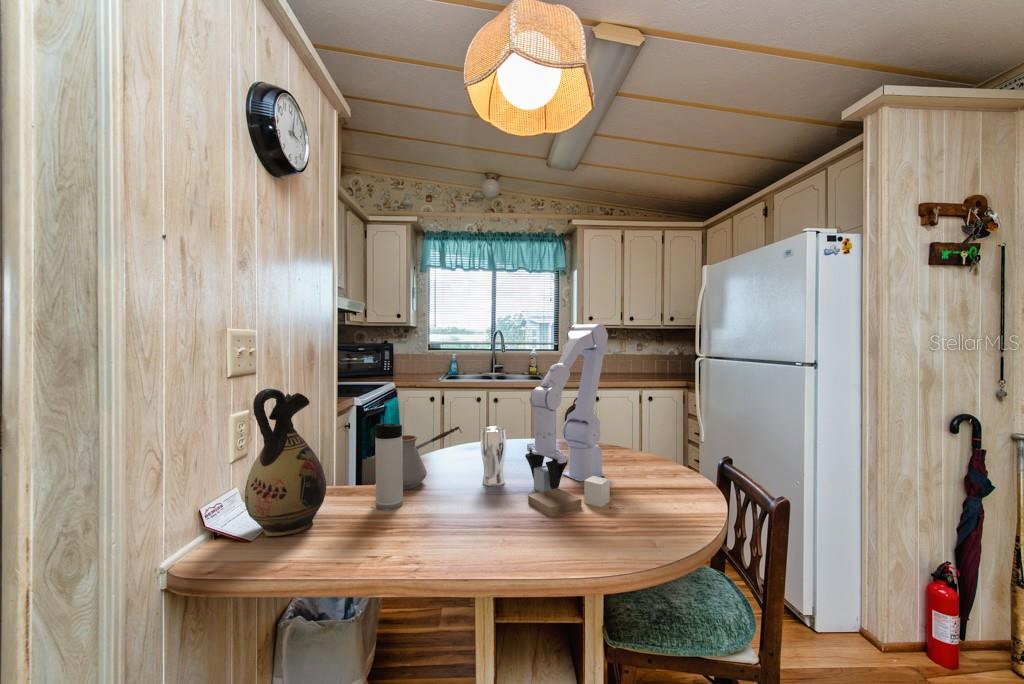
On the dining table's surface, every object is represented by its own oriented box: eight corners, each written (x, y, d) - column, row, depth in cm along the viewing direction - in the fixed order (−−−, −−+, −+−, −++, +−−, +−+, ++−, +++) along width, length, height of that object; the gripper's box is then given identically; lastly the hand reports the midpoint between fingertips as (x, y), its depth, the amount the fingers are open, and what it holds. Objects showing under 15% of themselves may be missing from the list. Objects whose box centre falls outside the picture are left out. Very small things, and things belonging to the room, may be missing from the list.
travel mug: (369, 508, 102) (368, 423, 102) (389, 498, 108) (388, 419, 108) (389, 512, 99) (388, 426, 99) (408, 503, 105) (407, 421, 105)
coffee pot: (384, 494, 111) (383, 436, 111) (383, 480, 122) (383, 427, 122) (465, 485, 118) (465, 430, 117) (458, 472, 129) (458, 422, 128)
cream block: (592, 497, 108) (592, 475, 108) (609, 501, 105) (609, 479, 105) (584, 503, 104) (584, 480, 104) (601, 507, 102) (601, 484, 102)
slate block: (547, 485, 117) (547, 465, 117) (557, 490, 113) (557, 469, 113) (533, 488, 115) (533, 468, 115) (544, 493, 111) (543, 472, 111)
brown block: (557, 497, 109) (557, 488, 109) (581, 509, 101) (581, 499, 101) (528, 505, 104) (528, 495, 104) (550, 518, 97) (550, 507, 97)
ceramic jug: (291, 508, 102) (290, 382, 102) (342, 518, 96) (340, 384, 96) (219, 540, 87) (217, 391, 86) (274, 554, 81) (271, 394, 80)
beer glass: (505, 487, 116) (505, 431, 116) (479, 487, 116) (479, 431, 116) (506, 478, 123) (506, 426, 123) (482, 478, 123) (481, 426, 123)
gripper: (517, 429, 118) (518, 479, 118) (550, 440, 106) (550, 495, 106) (538, 426, 122) (538, 474, 122) (572, 436, 109) (572, 489, 110)
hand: (545, 483), depth 114 cm, fingers open, 7 cm apart
